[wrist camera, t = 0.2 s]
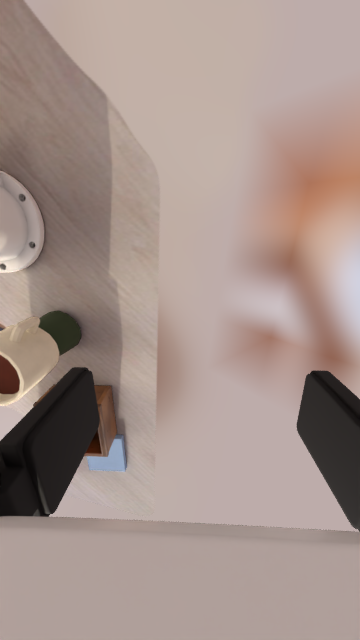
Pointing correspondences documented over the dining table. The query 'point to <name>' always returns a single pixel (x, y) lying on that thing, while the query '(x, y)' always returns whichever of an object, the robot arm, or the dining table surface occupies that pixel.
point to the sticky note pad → (110, 458)
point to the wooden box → (101, 423)
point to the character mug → (33, 352)
